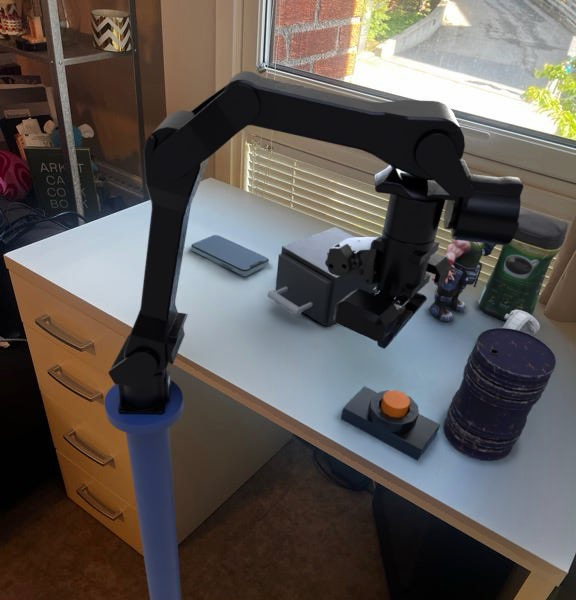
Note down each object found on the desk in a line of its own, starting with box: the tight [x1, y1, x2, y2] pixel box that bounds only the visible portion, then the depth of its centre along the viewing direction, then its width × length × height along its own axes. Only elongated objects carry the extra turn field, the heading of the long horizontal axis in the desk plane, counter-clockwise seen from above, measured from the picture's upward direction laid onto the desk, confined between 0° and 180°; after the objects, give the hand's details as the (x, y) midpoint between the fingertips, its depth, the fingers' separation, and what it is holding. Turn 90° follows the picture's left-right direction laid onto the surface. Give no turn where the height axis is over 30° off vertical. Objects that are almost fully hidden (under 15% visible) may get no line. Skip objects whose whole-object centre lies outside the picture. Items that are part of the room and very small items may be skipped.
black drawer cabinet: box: [280, 226, 376, 328], centre depth 98 cm, size 14×13×10 cm
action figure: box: [428, 239, 498, 323], centre depth 96 cm, size 20×7×18 cm, turn 139°
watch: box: [502, 310, 541, 336], centre depth 85 cm, size 6×8×11 cm
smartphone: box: [190, 234, 270, 276], centre depth 108 cm, size 8×2×15 cm
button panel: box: [340, 386, 441, 461], centre depth 76 cm, size 12×6×4 cm, turn 55°
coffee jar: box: [478, 208, 569, 322], centre depth 97 cm, size 10×8×19 cm
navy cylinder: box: [442, 327, 557, 462], centre depth 73 cm, size 10×10×15 cm
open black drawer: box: [267, 253, 332, 324], centre depth 96 cm, size 17×11×8 cm
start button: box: [381, 389, 410, 418], centre depth 74 cm, size 4×4×2 cm
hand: (382, 346), depth 71 cm, fingers closed
